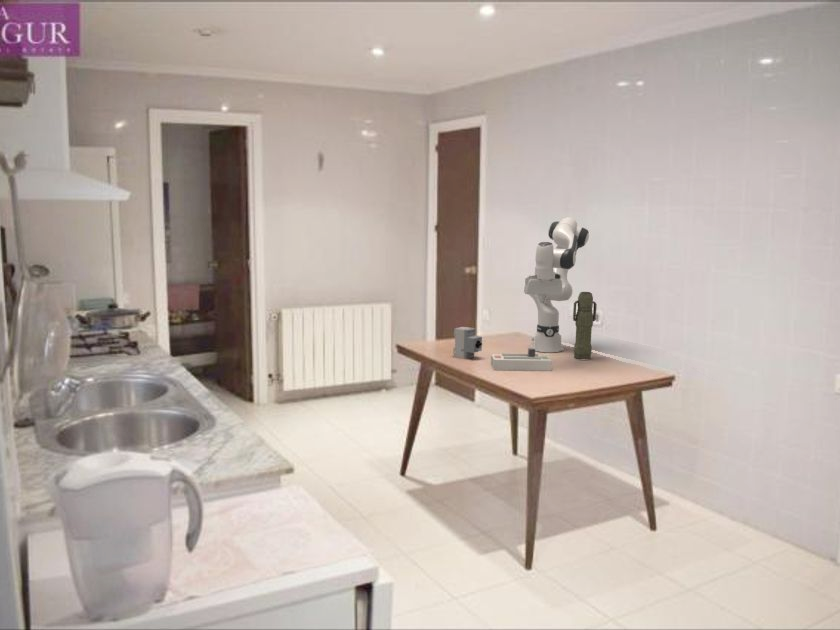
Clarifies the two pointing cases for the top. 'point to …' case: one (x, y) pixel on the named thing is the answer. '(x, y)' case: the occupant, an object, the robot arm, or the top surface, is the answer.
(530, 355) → the breaker toggle
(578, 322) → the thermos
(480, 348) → the circuit breaker
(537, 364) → the white slider track board
